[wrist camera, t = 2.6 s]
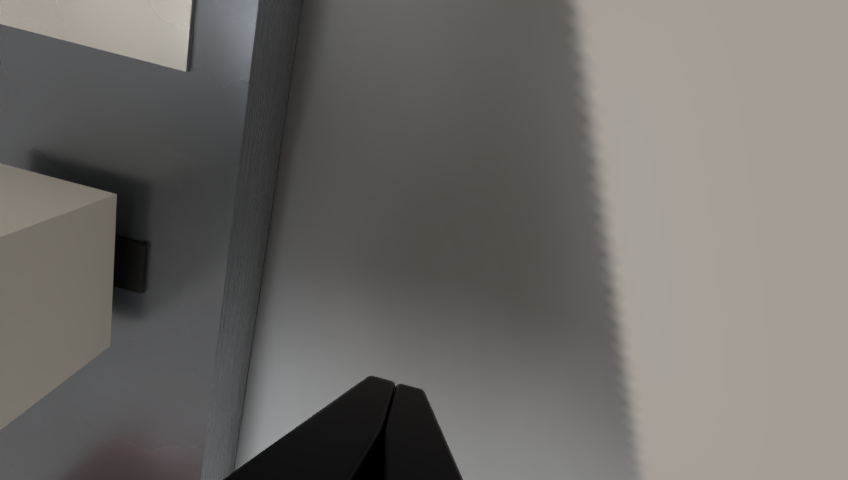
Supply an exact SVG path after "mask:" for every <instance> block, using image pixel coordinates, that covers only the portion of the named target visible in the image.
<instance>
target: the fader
mask: <svg viewBox="0 0 848 480" xmlns="http://www.w3.org/2000/svg"><path fill="white" fill-rule="evenodd" d="M116 204H117V194H115V193H111V192H107V191H103V190H99V189H96V188H92V187H88V186H84V185H80V184H77V183H73V182H69V181H65V180H62V179H58V178H54V177H50V176H46V175H43V174H39V173H35V172H31V171H28V170H24V169H20V168H16V167H12V166H9V165H5V164H1V163H0V430H1V429H2V428H4V427H5V426H6V425H8V424H9V423H10V422H12V421H13V420H14V419H16V418H17V417H18V416H19V415H21V414H22V413H23V412H25V411H26V410H27V409H29V408H30V407H31V406H33V405H34V404H35V403H36V402H38V401H39V400H40V399H42V398H43V397H44V396H46V395H47V394H48V393H50V392H51V391H52V390H53V389H55V388H56V387H57V386H59V385H60V384H61V383H63V382H64V381H65V380H66V379H68V378H69V377H70V376H72V375H73V374H74V373H76V372H77V371H78V370H80V369H81V368H82V367H83V366H85V365H86V364H87V363H89V362H90V361H91V360H93V359H94V358H95V357H97V356H98V355H99V354H100V353H102V352H103V351H104V350H106V349H107V348H108V347H110V343H111V320H112V297H113V274H114V251H115V227H116Z"/></svg>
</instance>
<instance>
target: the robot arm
mask: <svg viewBox="0 0 848 480" xmlns="http://www.w3.org/2000/svg"><path fill="white" fill-rule="evenodd" d="M394 390H395V391H394ZM393 394H394V395H393ZM223 480H463V479H462V477H461V474H460V472H459V470H458V467H457V465H456V463H455V461H454V458H453V456H452V454H451V451H450V449H449V447H448V445H447V442H446V440H445V438H444V435H443V433H442V431H441V428H440V426H439V424H438V422H437V419H436V417H435V415H434V412H433V410H432V408H431V406H430V403H429V401H428V399H427V396H426V394H425V392H424V391H423V390H422V389H419V388H415V387H412V386H408V385H404V384H398V385H397V386H396V388H395V383H394V382H392V381H389V380H386V379H382V378H378V377H375V376H368V377H367V378H365V379H364V380H363V381H361V382H360V383H358V384H357V385H355V386H354V387H353V388H351V389H350V390H348V391H347V392H346V393H344V394H343V395H341V396H340V397H339V398H337V399H336V400H334V401H333V402H332V403H330V404H329V405H327V406H326V407H324V408H323V409H322V410H320V411H319V412H317V413H316V414H315V415H313V416H312V417H310V418H309V419H308V420H306V421H305V422H303V423H302V424H301V425H299V426H298V427H296V428H295V429H293V430H292V431H291V432H289V433H288V434H286V435H285V436H284V437H282V438H281V439H279V440H278V441H277V442H275V443H274V444H272V445H271V446H269V447H268V448H267V449H265V450H264V451H262V452H261V453H260V454H258V455H257V456H255V457H254V458H253V459H251V460H250V461H248V462H247V463H246V464H244V465H243V466H241V467H240V468H238V469H237V470H236V471H234V472H233V473H231V474H230V475H229V476H227V477H226V478H224V479H223Z"/></svg>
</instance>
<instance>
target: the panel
mask: <svg viewBox="0 0 848 480" xmlns="http://www.w3.org/2000/svg"><path fill="white" fill-rule="evenodd" d="M301 7H302V0H0V163H1V164H5V165H9V166H12V167H16V168H20V169H24V170H28V171H31V172H35V173H39V174H43V175H46V176H50V177H54V178H58V179H62V180H65V181H69V182H73V183H77V184H80V185H84V186H88V187H92V188H96V189H99V190H103V191H107V192H111V193H115V194H117V204H116V227H115V251H114V274H113V297H112V320H111V343H110V347H108V348H107V349H106V350H104V351H103V352H102V353H100V354H99V355H98V356H97V357H95V358H94V359H93V360H91V361H90V362H89V363H87V364H86V365H85V366H83V367H82V368H81V369H80V370H78V371H77V372H76V373H74V374H73V375H72V376H70V377H69V378H68V379H66V380H65V381H64V382H63V383H61V384H60V385H59V386H57V387H56V388H55V389H53V390H52V391H51V392H50V393H48V394H47V395H46V396H44V397H43V398H42V399H40V400H39V401H38V402H36V403H35V404H34V405H33V406H31V407H30V408H29V409H27V410H26V411H25V412H23V413H22V414H21V415H19V416H18V417H17V418H16V419H14V420H13V421H12V422H10V423H9V424H8V425H6V426H5V427H4V428H2V429H1V430H0V480H223V479H224V478H226V477H227V476H229V475H230V474H231V473H233V470H234V464H235V457H236V450H237V443H238V436H239V430H240V423H241V416H242V409H243V402H244V395H245V389H246V382H247V375H248V368H249V361H250V355H251V348H252V341H253V334H254V327H255V320H256V314H257V307H258V300H259V293H260V286H261V280H262V273H263V266H264V259H265V252H266V245H267V239H268V232H269V225H270V218H271V211H272V205H273V198H274V191H275V184H276V177H277V170H278V164H279V157H280V150H281V143H282V136H283V130H284V123H285V116H286V109H287V102H288V96H289V89H290V82H291V75H292V68H293V61H294V55H295V48H296V41H297V34H298V27H299V21H300V14H301Z"/></svg>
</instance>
